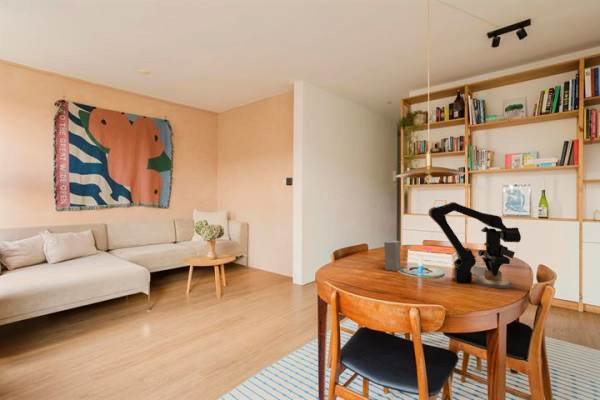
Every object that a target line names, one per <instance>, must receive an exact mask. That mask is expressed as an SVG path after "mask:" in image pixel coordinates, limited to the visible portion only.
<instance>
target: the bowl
mask: <svg viewBox="0 0 600 400" xmlns="http://www.w3.org/2000/svg"><path fill="white" fill-rule="evenodd" d="M481 265H485V263H484V261H483V262H482V261H481V262H480V261H479V262H477V261H476V263H475V265H474V266H473V267H472V268H471V273H472V276H477V277H478V276H485V270H488V269H487V267H481ZM485 266H486V265H485Z"/></svg>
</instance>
